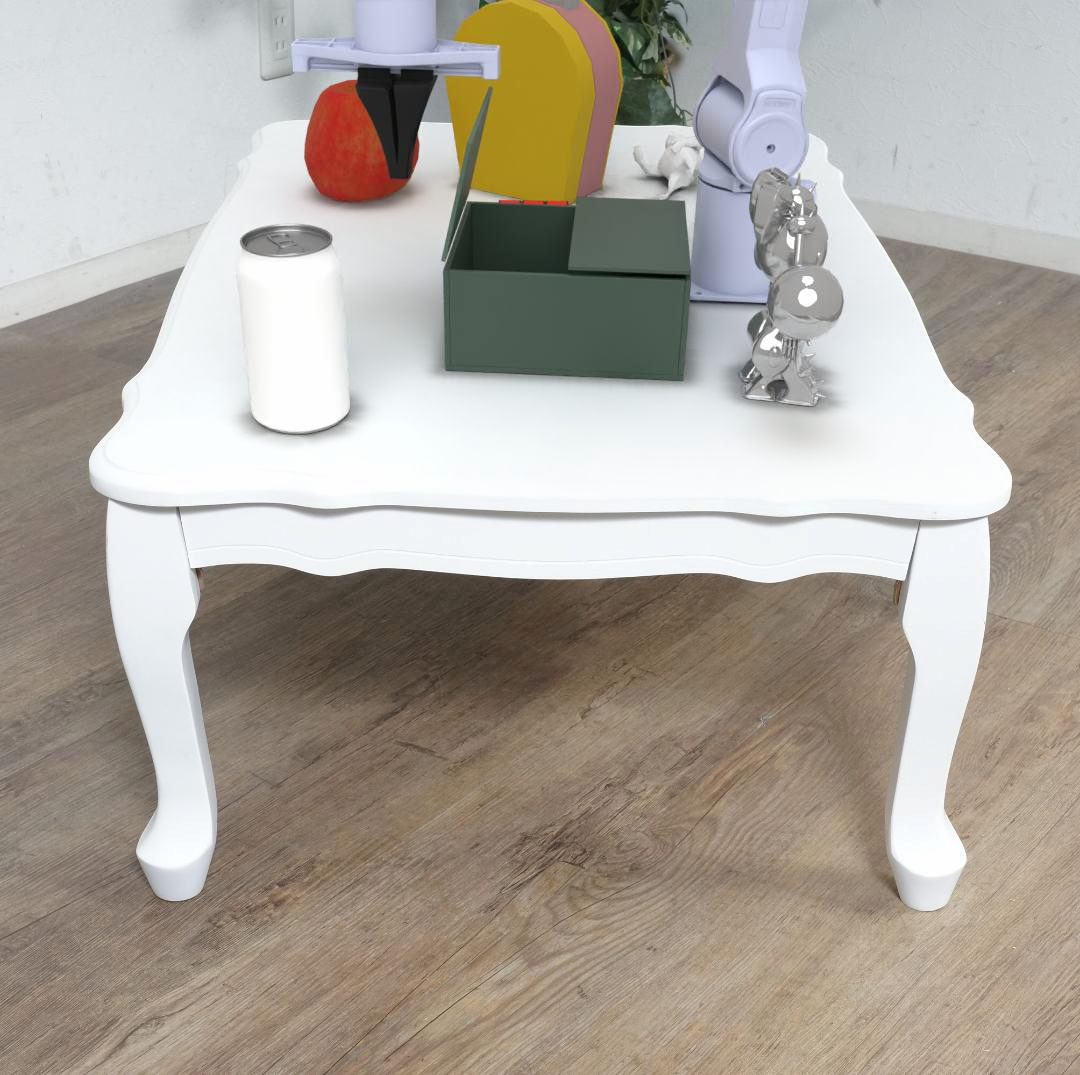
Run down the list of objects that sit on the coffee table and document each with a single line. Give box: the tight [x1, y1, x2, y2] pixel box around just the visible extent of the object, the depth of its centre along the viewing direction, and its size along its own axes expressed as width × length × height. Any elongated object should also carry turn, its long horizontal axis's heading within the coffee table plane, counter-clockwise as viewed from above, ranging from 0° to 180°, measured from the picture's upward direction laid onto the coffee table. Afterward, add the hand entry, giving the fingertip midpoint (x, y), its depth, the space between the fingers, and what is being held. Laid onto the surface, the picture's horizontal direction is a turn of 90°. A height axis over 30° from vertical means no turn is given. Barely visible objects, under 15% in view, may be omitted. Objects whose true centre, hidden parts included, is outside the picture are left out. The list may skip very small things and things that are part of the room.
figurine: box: [632, 131, 703, 200], centre depth 129 cm, size 6×6×12 cm
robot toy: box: [737, 167, 845, 407], centre depth 87 cm, size 15×6×15 cm, turn 177°
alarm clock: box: [444, 0, 624, 205], centre depth 124 cm, size 15×8×18 cm, turn 58°
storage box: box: [442, 196, 691, 382], centre depth 97 cm, size 15×17×8 cm
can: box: [235, 223, 351, 435], centre depth 84 cm, size 6×6×12 cm
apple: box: [303, 79, 421, 203], centre depth 123 cm, size 11×11×11 cm
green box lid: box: [440, 87, 493, 263], centre depth 93 cm, size 15×8×1 cm
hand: (400, 175), depth 97 cm, fingers closed
